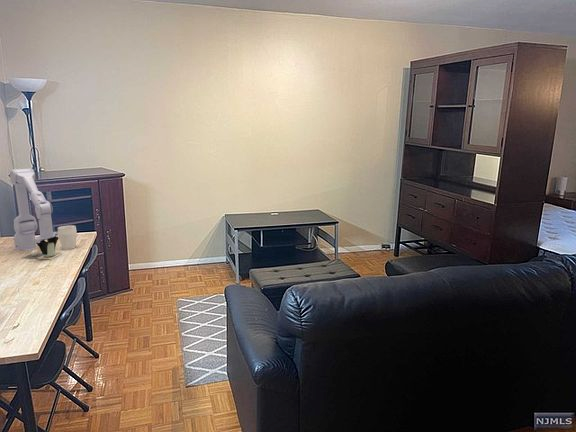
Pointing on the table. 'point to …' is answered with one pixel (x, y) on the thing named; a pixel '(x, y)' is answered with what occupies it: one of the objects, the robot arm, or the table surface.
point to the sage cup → (50, 249)
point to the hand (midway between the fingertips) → (48, 252)
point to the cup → (67, 236)
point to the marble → (34, 253)
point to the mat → (41, 256)
